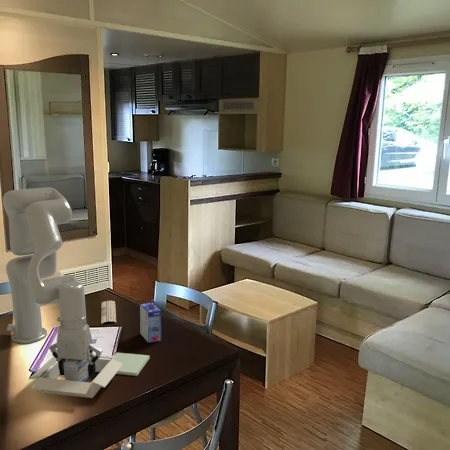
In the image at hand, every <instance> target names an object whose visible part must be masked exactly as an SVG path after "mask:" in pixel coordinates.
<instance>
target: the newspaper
mask: <svg viewBox="0 0 450 450" xmlns="http://www.w3.org/2000/svg"><path fill="white" fill-rule="evenodd" d="M116 309H117V308H116V302H115V301H114V300H106V301H102V302H101V309H100V310H101V312H100V313H101V315H100V317H101V319H100V322H101V323H100V325H103V324H104V323H106V322H114V323H116V324H117V313H116V312H117V311H116Z"/></svg>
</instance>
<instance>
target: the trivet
mask: <svg viewBox="0 0 450 450" xmlns="http://www.w3.org/2000/svg"><path fill="white" fill-rule="evenodd" d="M113 356H117V358H114V359H113V360H116V361H118V362H120V363H122V364H123V365H122V367H121V368H120V369H119V370H118V372H117V373H116V374H117V375H125V376H135V377H137V376H138V375H139V374H140V372H141V371H142V369H143V368H144V367H145V365H146V364H147V362H148V361H149V360H150V358H151V357H150V355H146V354H139V353H138V354H136V353H125V352H116V353H115V354H114V355H113ZM110 360H112V359H110ZM116 374H115V375H116Z"/></svg>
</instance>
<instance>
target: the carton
mask: <svg viewBox="0 0 450 450" xmlns="http://www.w3.org/2000/svg"><path fill="white" fill-rule="evenodd" d="M92 354H93V353H92ZM93 355H94V356H95V355H96V353H94V354H93ZM114 358H117V356H114V355H106V354H101V355H100V357H99V358H98V360H97V361H95V367H96V371H95V372H94V373H97V372H98V374H97V375H96V377H95V378H94V379H93V380H92V381H91V382H89V381H87V382H86V381H85V382H80V381H70V380H65V379H58V377H59V376H60V375H61V374H60V371H59V367H58V362H57V361H56V358H55V357H54V356H52V357H51V358H50V359H49V360H48V361H46V363H44V365H42V366H41V367H40V368H38V370H37V371H36V372H35V373H33V374H32V375H31V376H30V377H29V378H28V380H33V379H36V380H35V382H34V384H33V385H32V387H31V390H38V391H39V392H40V393H43V394H44V393H45V394H51V395H59V396H60V395H62V396H71V397H80V398H88V399H89V398H90V399H93V398H94V397H95V396H96V394H97V393H98V392H99V391H100V390H101V388H104V389H105V387H107V385H108V384H109V383H110V382H111V380H113V378H114V376H116V373H117V372H118V370H119V369H120V368H121V367H122V365H123V364H122V363H120V362H118V361H116V360H113V359H114ZM111 359H112V360H111ZM66 360H68V359H66ZM91 360H92V359H91Z"/></svg>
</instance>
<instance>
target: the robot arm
mask: <svg viewBox="0 0 450 450" xmlns="http://www.w3.org/2000/svg"><path fill="white" fill-rule="evenodd" d="M2 205H3V208H4V211H5V214H6V215H7V218H8V225H9V226H8V227H9V228H8V230H9V245H10V251H11V253H12V254H13V255H14V256H17V257H14V258H12V259H10V260H9V261H8V262H7V264H6V266H5V268H6V269H5V271H6V275H7V278H8V283H9V286H10V291H11V301H12V302H11V303H12V311H13V321H14V323H9V324H7V328H6V331H7V332H12V334H11V337H10V338H11V341H12V342H13V343H15V344H31V343H35V342H38V341H40V340H43V339H44V338H45V337H46V336H47V335H48V331H47V329H46V328H43V324H42V321H43V320H42V311H41V306H42V305H43V306H44V305H49V304H54V303H57V302H58V304H59V316H57V318H56V321H57V322H59V324H60V325H58V329H57V336H56V342H55V343H54V344H51V345H50V346H49V347H48V349H49V351H50V352H51V355H52V357H55V358H56V363H57V362H58V367H59V371H60V375H61V374H63V373H64V362H65V361H66V359H74V360H87V362H88V363H89V364H88V376H90V377H92V376H93V375H94V374H95V373H96V372H95V371H96V367H95V361H97V360H98V359H100V358H99V357H100V355H102V353H103V349H102V348H100V347H99V346H96V345H95V344H93V337H92V333H91V329H90V326H89V324H87V311H86V298H85V297H86V296H85V295H86V294H85V286H84V285H83V283H82V282H80V281H79V278H77V277H76V276H75V275H73V274H67V275H66V274H65V275H62V276H61V275H60V276H56V277H52V276H54V275H55V273H56V272H57V252H58V251H59V250H60V249H61V248H62V246H63V240H62V236H61V234H60V230H59V227H58V225H63V224H68V223H70V222H71V220H72V218H73V211H72V208H71V205H70V203H69V202H68V200H67V198H66V197H64V195H62V193H60V192H59V191H58V190H57V189H56V188H54V187H49V186H47V187H46V186H45V187H36V188H35V187H34V188H22V189H14V190H8V191H7V192H5V193H4V194H3V198H2ZM49 277H52V278H49ZM42 279H43V280H42ZM93 352H94V354H96V355H95V356H94V355H93ZM91 359H92V360H91ZM90 377H89V378H90Z"/></svg>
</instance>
